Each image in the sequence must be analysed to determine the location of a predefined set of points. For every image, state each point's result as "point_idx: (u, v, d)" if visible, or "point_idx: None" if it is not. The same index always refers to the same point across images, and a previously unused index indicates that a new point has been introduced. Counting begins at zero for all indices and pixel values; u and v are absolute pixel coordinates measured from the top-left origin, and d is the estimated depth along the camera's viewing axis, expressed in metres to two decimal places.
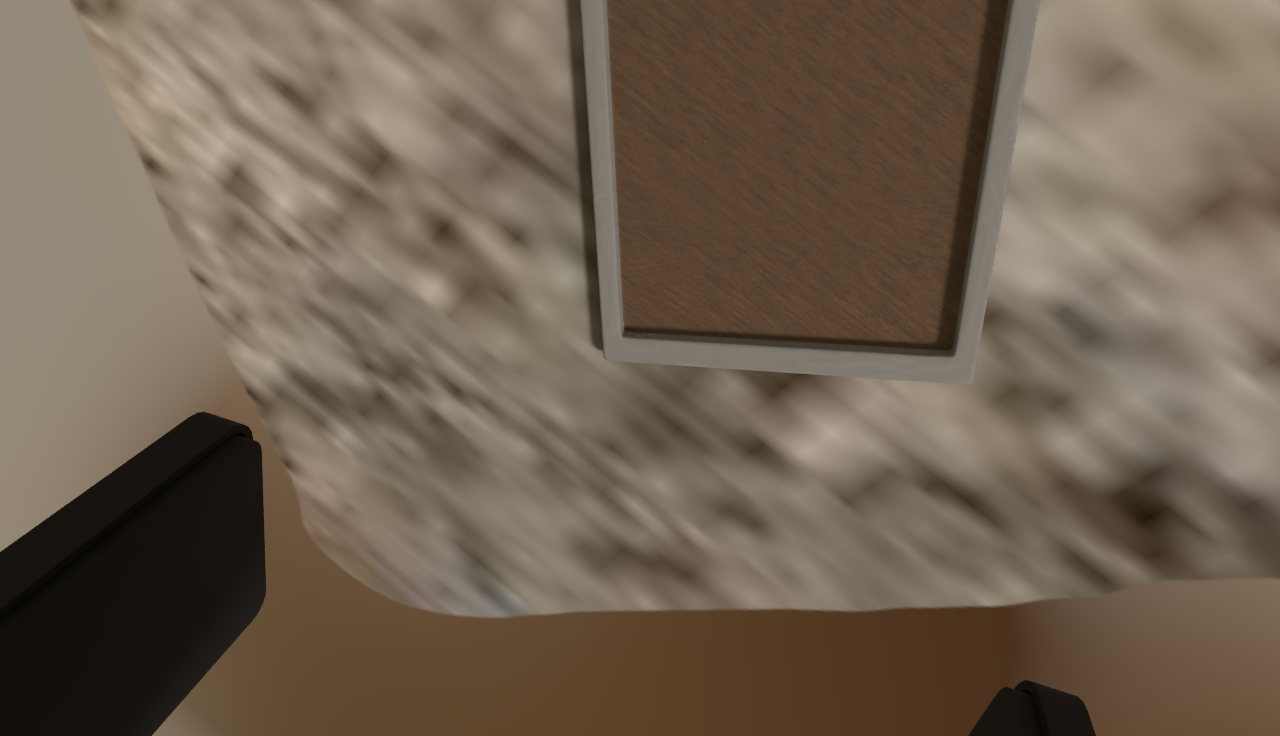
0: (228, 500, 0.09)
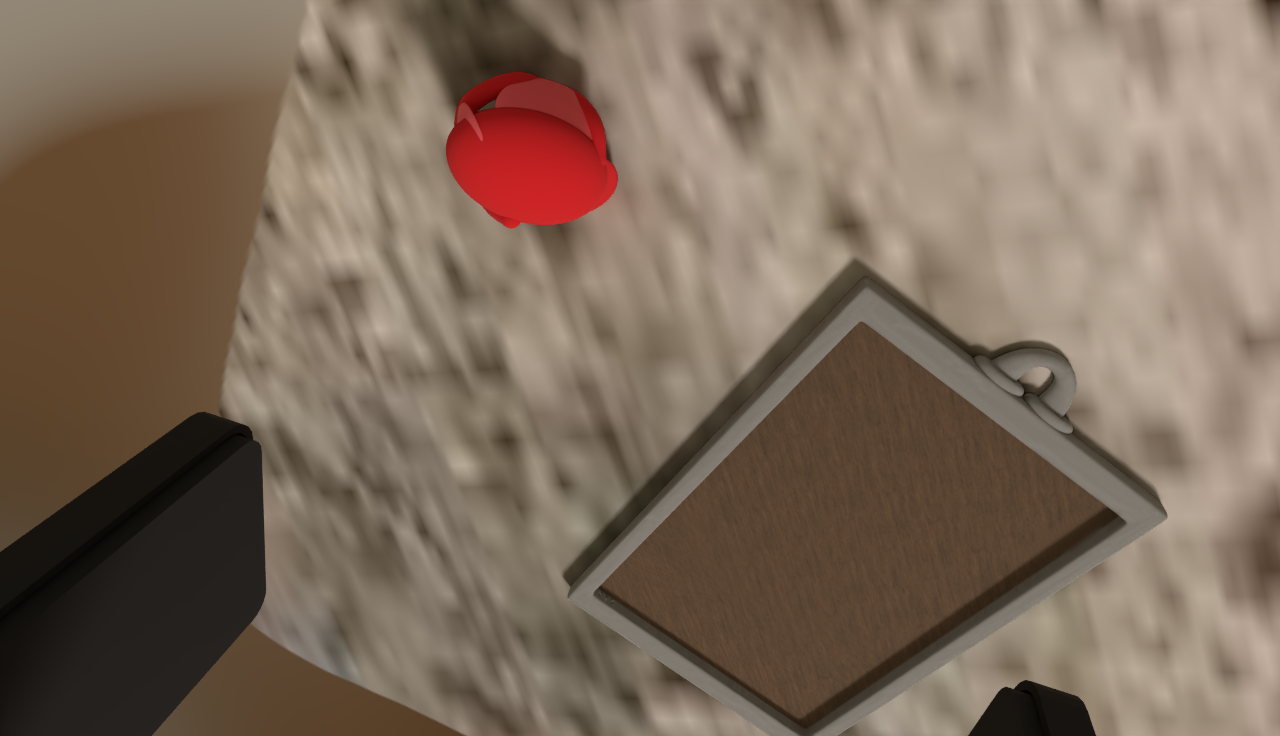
0: (227, 500, 0.09)
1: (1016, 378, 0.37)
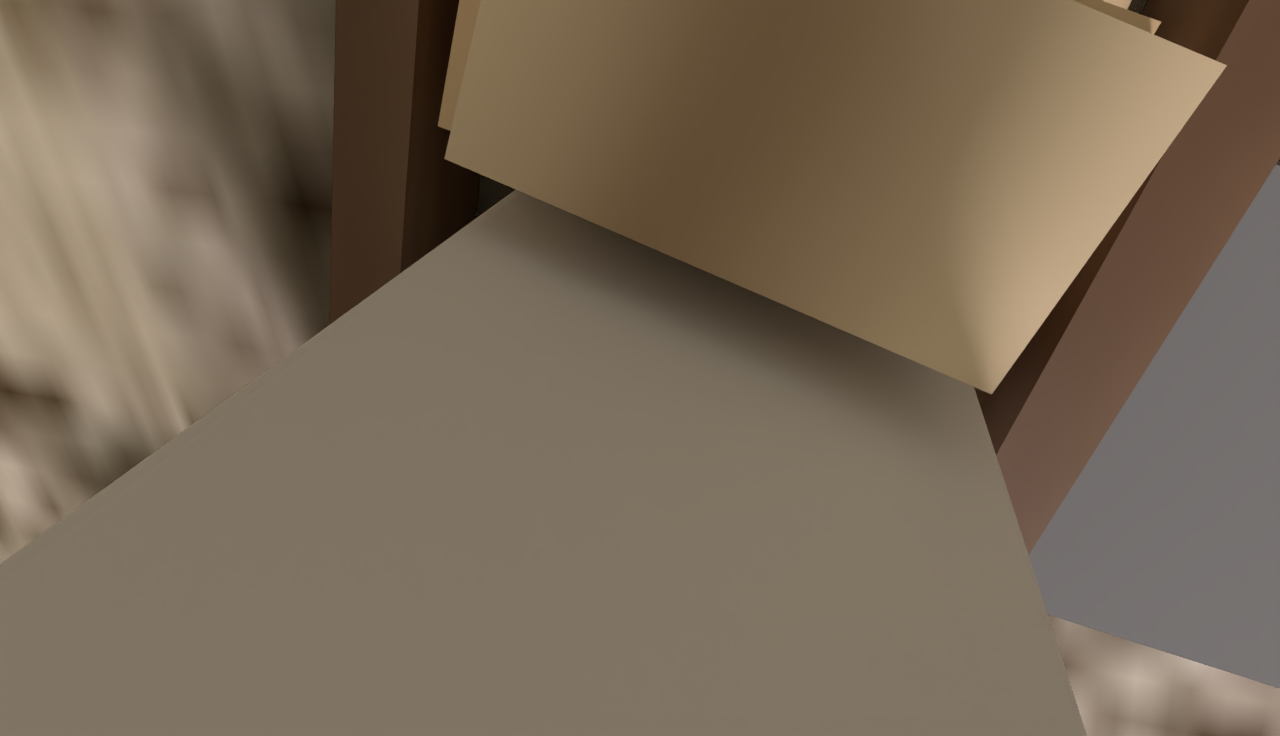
0: None
1: None
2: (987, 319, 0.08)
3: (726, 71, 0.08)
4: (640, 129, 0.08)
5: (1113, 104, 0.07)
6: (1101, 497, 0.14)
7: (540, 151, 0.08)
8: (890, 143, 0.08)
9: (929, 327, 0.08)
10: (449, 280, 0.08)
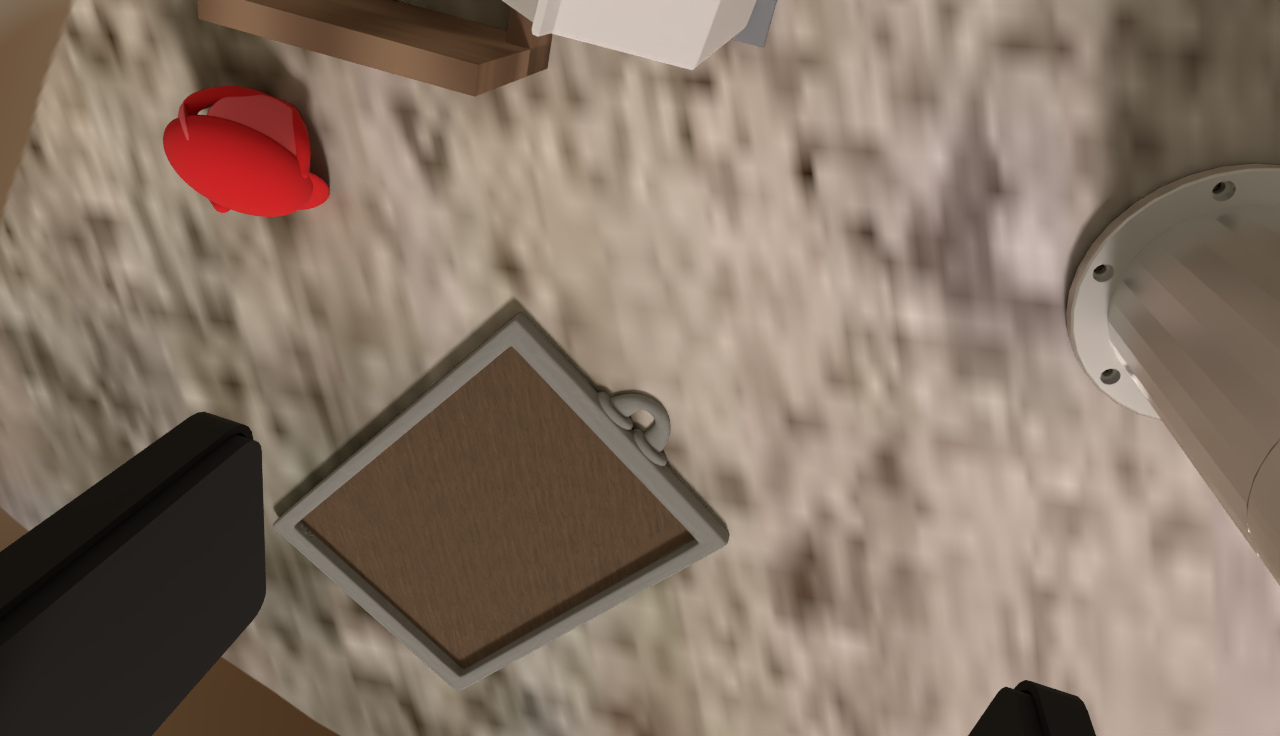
0: (228, 500, 0.09)
1: (626, 415, 0.47)
2: None
3: None
4: None
5: None
6: None
7: None
8: None
9: None
10: None
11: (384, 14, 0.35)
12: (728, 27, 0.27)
